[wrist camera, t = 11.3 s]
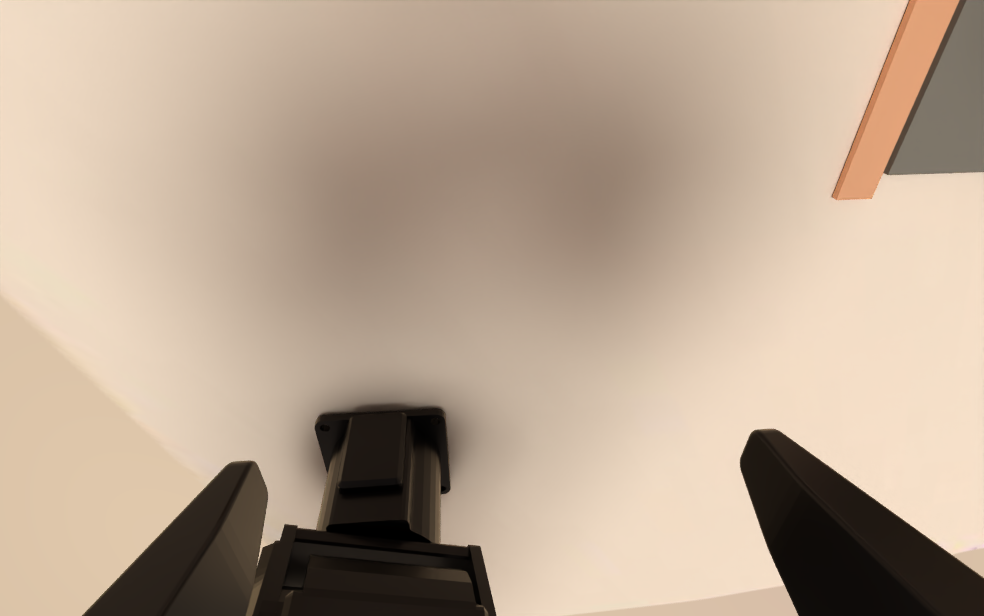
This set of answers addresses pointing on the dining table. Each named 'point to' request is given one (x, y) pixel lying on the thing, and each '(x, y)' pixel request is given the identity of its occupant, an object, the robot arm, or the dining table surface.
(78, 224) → the dining table surface
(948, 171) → the charcoal mat
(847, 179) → the terracotta line
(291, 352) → the dining table surface
